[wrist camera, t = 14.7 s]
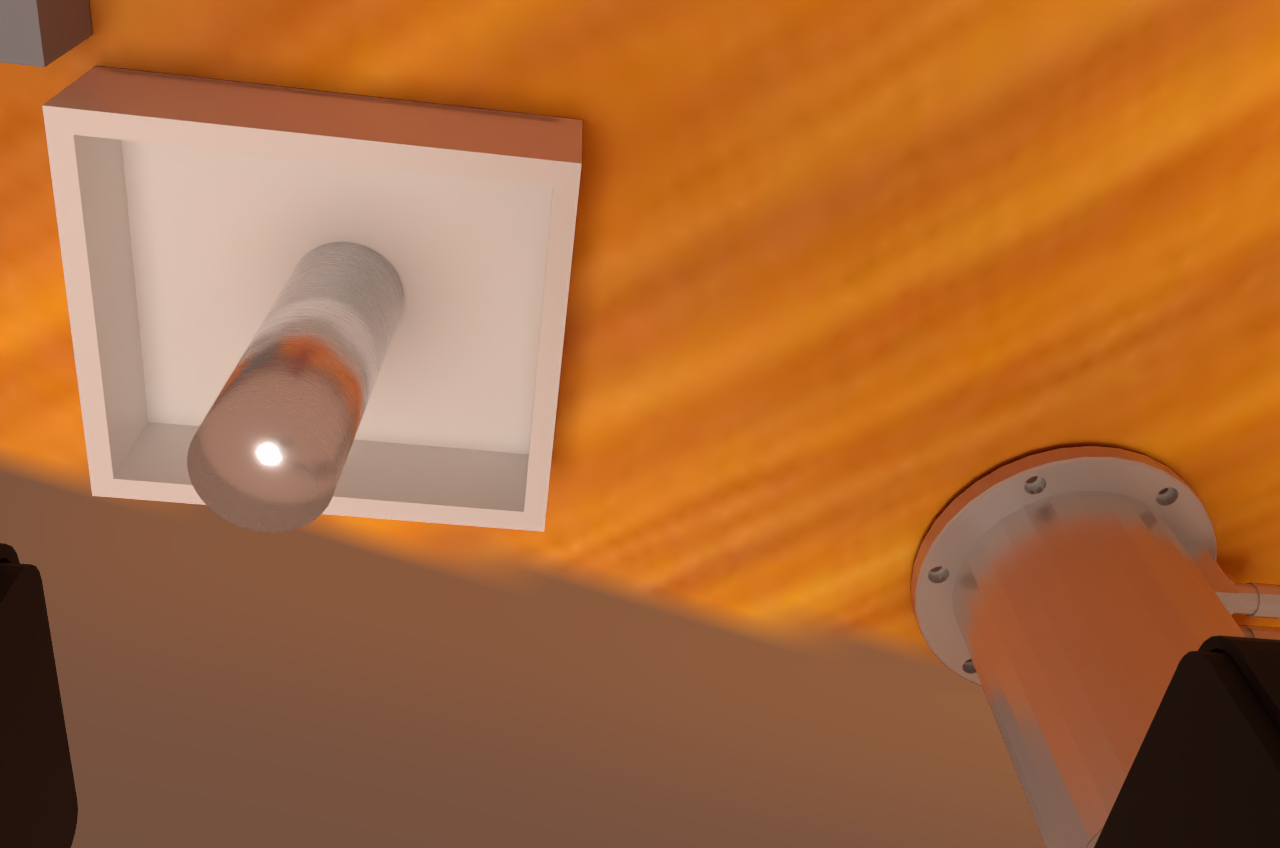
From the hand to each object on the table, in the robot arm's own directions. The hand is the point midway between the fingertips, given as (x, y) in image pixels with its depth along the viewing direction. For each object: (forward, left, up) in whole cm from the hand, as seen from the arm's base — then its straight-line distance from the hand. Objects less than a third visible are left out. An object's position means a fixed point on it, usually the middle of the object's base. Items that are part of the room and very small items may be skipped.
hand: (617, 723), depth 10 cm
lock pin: (+8, +12, -33) cm, 36 cm away
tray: (+8, +12, -33) cm, 36 cm away
